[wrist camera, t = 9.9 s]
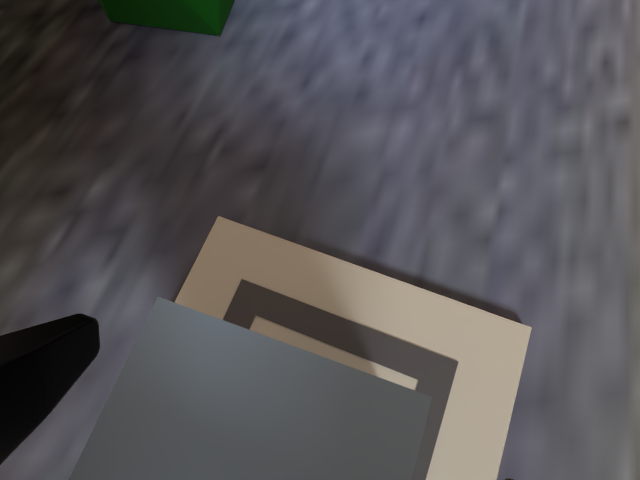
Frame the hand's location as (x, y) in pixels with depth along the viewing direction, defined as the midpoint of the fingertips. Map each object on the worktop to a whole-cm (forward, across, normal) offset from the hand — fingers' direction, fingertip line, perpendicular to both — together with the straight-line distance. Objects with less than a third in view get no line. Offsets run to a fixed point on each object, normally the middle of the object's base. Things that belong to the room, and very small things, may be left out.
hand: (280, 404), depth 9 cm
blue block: (+5, 0, +7) cm, 8 cm away
